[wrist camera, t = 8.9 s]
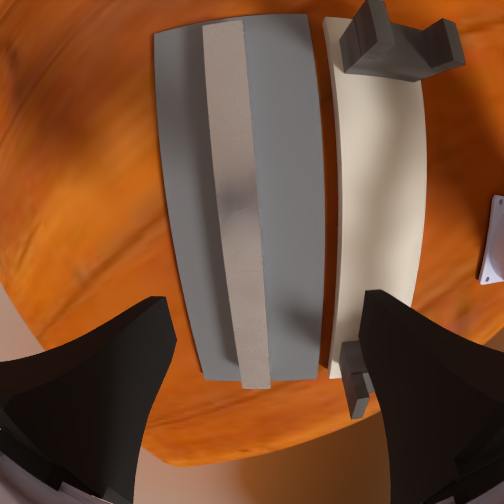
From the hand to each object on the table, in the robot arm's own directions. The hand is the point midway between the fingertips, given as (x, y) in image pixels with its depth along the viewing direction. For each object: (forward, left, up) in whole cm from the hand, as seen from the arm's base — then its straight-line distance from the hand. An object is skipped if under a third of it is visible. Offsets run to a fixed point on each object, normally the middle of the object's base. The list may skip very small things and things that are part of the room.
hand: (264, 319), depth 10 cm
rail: (+2, -1, -9) cm, 9 cm away
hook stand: (-8, -1, -9) cm, 12 cm away
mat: (+1, -1, -9) cm, 9 cm away
